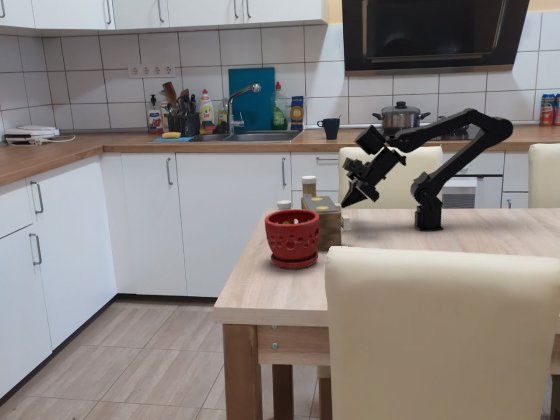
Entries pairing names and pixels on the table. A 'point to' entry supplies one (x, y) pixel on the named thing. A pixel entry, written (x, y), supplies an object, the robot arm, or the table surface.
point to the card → (320, 204)
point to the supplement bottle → (284, 208)
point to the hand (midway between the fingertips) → (341, 206)
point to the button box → (327, 228)
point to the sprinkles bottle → (309, 186)
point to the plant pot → (293, 237)
